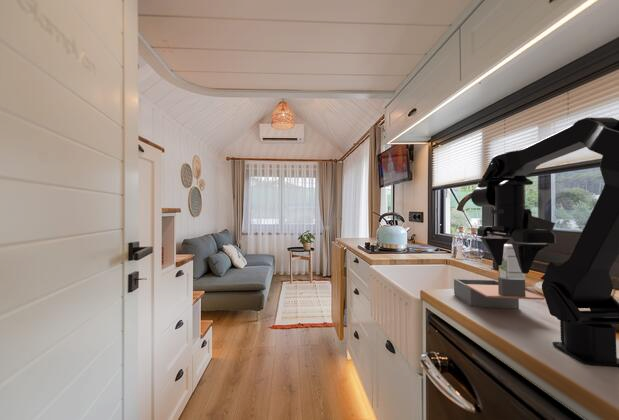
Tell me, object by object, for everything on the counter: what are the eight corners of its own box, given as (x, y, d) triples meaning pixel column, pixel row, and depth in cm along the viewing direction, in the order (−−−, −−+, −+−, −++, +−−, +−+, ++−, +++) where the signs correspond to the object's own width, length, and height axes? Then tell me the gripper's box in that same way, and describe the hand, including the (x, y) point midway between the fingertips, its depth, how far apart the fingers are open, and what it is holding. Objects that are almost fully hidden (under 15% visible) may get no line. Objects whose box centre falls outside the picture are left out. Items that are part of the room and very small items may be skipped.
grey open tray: (518, 308, 66) (518, 289, 66) (470, 306, 67) (470, 287, 67) (495, 296, 76) (495, 280, 76) (454, 294, 77) (453, 278, 77)
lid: (544, 299, 58) (543, 280, 58) (487, 297, 59) (486, 279, 59) (513, 287, 68) (513, 271, 68) (465, 285, 70) (465, 269, 70)
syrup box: (526, 287, 85) (525, 245, 86) (507, 286, 86) (506, 245, 87) (516, 283, 91) (515, 243, 91) (498, 282, 92) (497, 243, 92)
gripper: (584, 203, 50) (586, 280, 50) (518, 206, 68) (519, 262, 68) (524, 203, 51) (525, 278, 51) (475, 206, 70) (476, 261, 69)
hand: (511, 269), depth 60 cm, fingers open, 9 cm apart
